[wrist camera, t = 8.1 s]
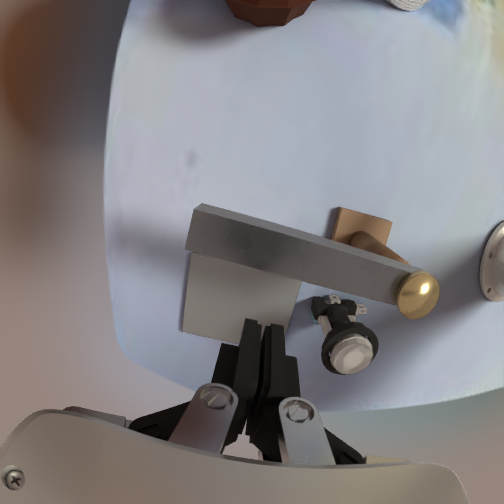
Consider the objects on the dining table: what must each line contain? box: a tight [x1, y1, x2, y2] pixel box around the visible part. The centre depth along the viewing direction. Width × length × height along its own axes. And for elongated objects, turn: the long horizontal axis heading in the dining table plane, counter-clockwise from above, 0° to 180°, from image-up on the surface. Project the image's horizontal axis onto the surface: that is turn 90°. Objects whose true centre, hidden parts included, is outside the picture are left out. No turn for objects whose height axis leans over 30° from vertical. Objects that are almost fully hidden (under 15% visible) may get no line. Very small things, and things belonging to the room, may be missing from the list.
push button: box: [311, 295, 378, 375], centre depth 27 cm, size 7×5×10 cm
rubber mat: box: [182, 252, 302, 344], centre depth 32 cm, size 12×10×1 cm
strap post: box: [331, 207, 410, 265], centre depth 24 cm, size 6×6×10 cm
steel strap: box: [185, 203, 440, 319], centre depth 17 cm, size 3×17×3 cm, turn 74°
